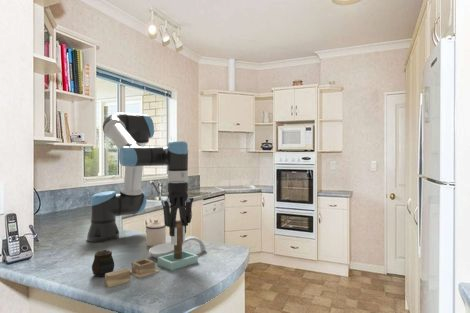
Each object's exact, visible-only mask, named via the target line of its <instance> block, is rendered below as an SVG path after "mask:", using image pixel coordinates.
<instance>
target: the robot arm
mask: <svg viewBox="0 0 470 313" xmlns="http://www.w3.org/2000/svg"><path fill="white" fill-rule="evenodd" d="M102 131H103V134H104V135H105V137H107V138H108V139H111V141H112V142H113V143H114V146H116V148H117V149H118V160H119V164H120V166H122V167H124V168H125V170H124V179H123V187H121V188H120V191H119V193H117V192H116V191H115V190H109V191H102V192H97V193H95V194H93V195H92V196H91V197H90V226H89V229H88V231H87V235H86V240H87V241H88V242H91V243H105V242H110V241H114V240H117V239H119V238H120V230H119V229H118V225H117V222H116V221H117V219H116V217H120V216H121V217H123V216H131V215H133V216H134V215H137V214H141V213H143V212H144V211H145V209H146V207H147V195H146V192H144V190H143V188H142V187H141V186H142V179H143V170H144V167H157V166H158V167H161V166H163V167H164V166H165V167H166V166H167V181H168V183H167V192H168V195H167V198H166V199H165V200H161V201H160V202H161V205H162V208H163V210H162V212H163V219H164V220H163V223H165V226H166V227H168V228H169V236H170V242H171V244H173V245H177V228H176V227H175V223H176V220H177V213H178V212H179V220H181V221H182V243H184V244H185V237H186V234H187V226H189V224H190V223H191V222H192V207H193V206H192V205H193V202H194V198H193V197H190V196H189V195H188V191H189V183H188V180H189V177H188V176H189V169H188V168H189V148H188V143H187V142H186V141H183V140H182V141H179V140H175V141H168V142H167V146H146V145H147V144H148V143H149V141H150V139H152V138H153V137H154V134H155V125H154V121H153V119H152V117H151V116H150V115H148V114H142V113H130V112H115V113H112V114H110V115H108V116H107V117H106V118H105V119H104V121H103V123H102Z"/></svg>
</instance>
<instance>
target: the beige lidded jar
mask: <svg viewBox="0 0 470 313" xmlns="http://www.w3.org/2000/svg"><path fill="white" fill-rule="evenodd" d="M166 227H167V226H165V223H164V222H161V221H159V218H155V219H153V221H151V222H150V223H147V224H146V226H145V228H146V245H147V246H148V247H154V246H156V245H160V244H164V243H166Z"/></svg>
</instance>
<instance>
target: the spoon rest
mask: <svg viewBox="0 0 470 313" xmlns="http://www.w3.org/2000/svg"><path fill="white" fill-rule="evenodd" d="M189 241H195V242H197V243H198V244H199V248H200V251H202V252H207V250H206V246H205V244H204V242H203V241H202V240H201V239H200V238H198V237H197V236H193V235H187V236H186V235H185V243H187V242H189ZM185 243H182V246H183V245H184V244H185ZM148 253H149V255H150V256H151V257H153V258H155V259H157V260H158V257H161V256H165V255H168V254H172V253H174V245H173V244H171V241H169V242H165V243H164V244H160V245H156V246H150V248H149V249H148Z"/></svg>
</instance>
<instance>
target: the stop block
mask: <svg viewBox="0 0 470 313" xmlns="http://www.w3.org/2000/svg"><path fill="white" fill-rule="evenodd" d="M130 270H131V269H129V268H126V267H125V268H121V269H117V270H115V271H114V270H113V272H110V273H106V274H105V277H104V286H106V287H108V288H112V287H115V286H118V285H122V284H125V283H127V282H131V274H130Z"/></svg>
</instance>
